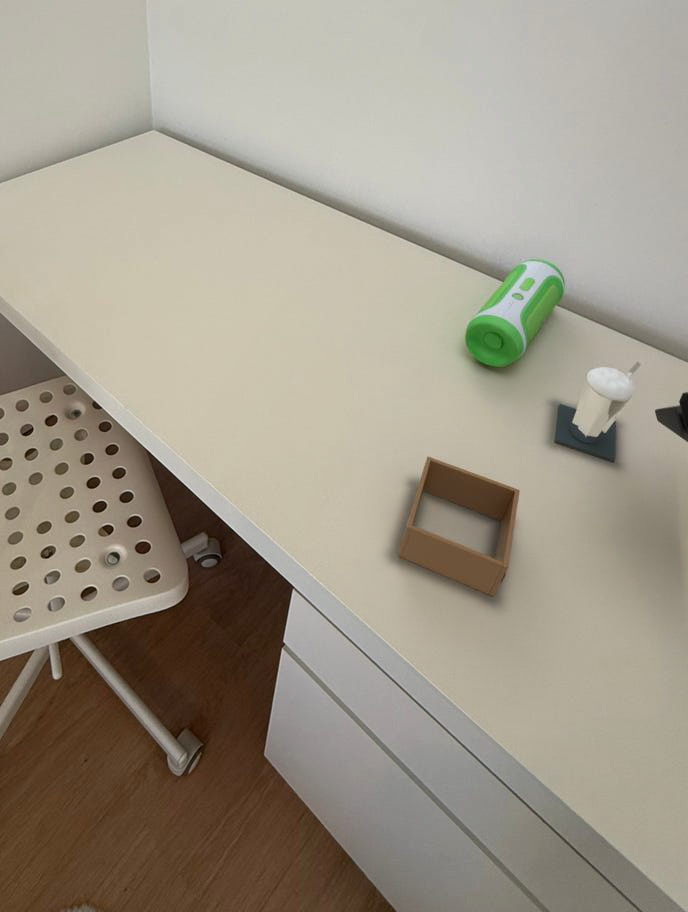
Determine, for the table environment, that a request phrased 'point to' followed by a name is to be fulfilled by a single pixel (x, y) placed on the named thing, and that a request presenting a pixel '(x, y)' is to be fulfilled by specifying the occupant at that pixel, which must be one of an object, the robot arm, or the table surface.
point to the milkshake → (601, 402)
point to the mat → (565, 437)
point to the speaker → (515, 313)
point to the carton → (449, 554)
